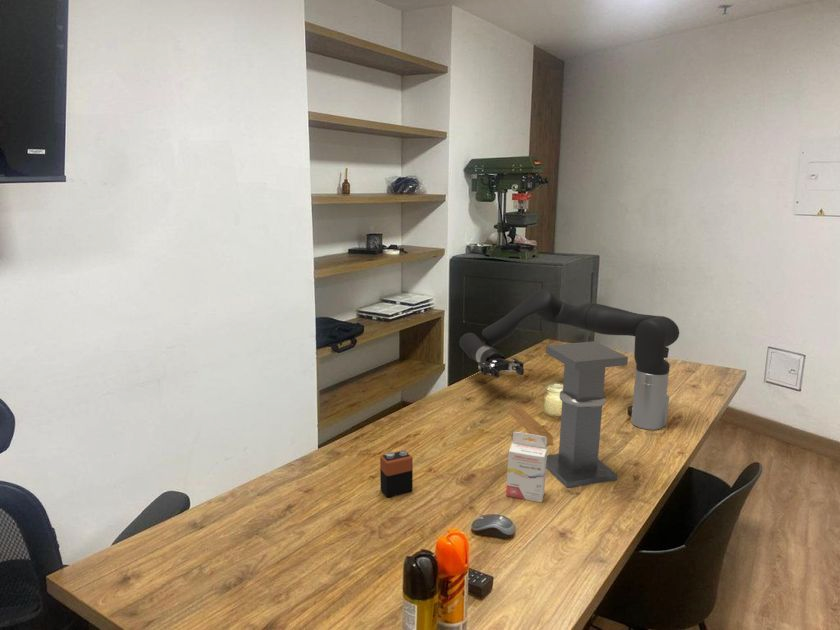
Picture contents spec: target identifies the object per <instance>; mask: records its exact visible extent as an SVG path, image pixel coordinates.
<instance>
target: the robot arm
mask: <svg viewBox="0 0 840 630" xmlns="http://www.w3.org/2000/svg"><path fill="white" fill-rule="evenodd" d="M533 314H535V315H537V316H538V318H539V319H541V320H542V321H544V322H547V323H552V324H553V323H554V324H561V325H568V326H572V327H575V328H579V329H582V330H585V331H588V332H592V333H596V334H600V335H606V336H628V337H629V336H630V337H634V357H633V358H634V361H635V363H636V364H635V365H636V366H635V375H634V376H635V377H634V387H633V397H632V408H631V420H630V422H631V424H632V425H634V426H635V427H638V428H640V429H644V430H652V431H656V430H660V429H662V428H663V427H666V426H667V422H668V412H669V403H670V402H669V401H670V396H669V395H668V394H667V393H668V385H669V377H670V375H669V374H670V362H669V361H668V360H665V348H666V347H669V346H671V345H673V344H674V343H675V342H676V341H677V340H678V338H679V336H680V329H679V327H678V325H677V323H676V322H675V321H674V320H672V318H669V317H667V316H664V315H652V314H642V313H636V312H632V311H629V310H625V309H622V308H617V307H612V306H608V305H605V304H602V303H596V302H587V303H584V304H581V305H576V304H575V305H574V304H570V303H567V302H564V301H562V300H561V299H559V297H557V296H556V294H555V293H553V292H552V291H551V290H550V289H548V288H541V289H538V290H537V291H535V292H533V293H532V294H531V295H530V296H528V297H527V298H526V299H525V300H523V301H522V302H521V303H519V304H518V305H517V306H516V307H515V308H514V309H512V310H511V311H510V312H508V313H507V314H506V315H505V316H504V317H501V318H500V319H498V320H496V321H494V323H491V324H490V325H488V326H487V327H485V328H483V330H482V331H481V335H482V338H483V340H484V341H483V340H482V339H480V337H479V336H478V335H477V334H475V333H474V332H467V333H464V334H463V335H462V336H460V338H459V346H460V348H461V349H462V351H463V352H464V353H465V354H466V355H467V356H468V358H469V359H471V360H474V361H476V362H477V363H478V365H477V366H478V368H477V369H478V371H479V372H480V373H481V374H482V375H484V376H486V375H487V374H488V375H490V376H493V378H496V379H498V378H499V376H500V372H508V373H513V372H515V373H517V374H518V375H519V376H523V375H524V373H525V371H524V366H525V365H524V364H525V363H524V362H523V361H520V360H519V359H517V358H512V360H507V359H506V357H505V356H504V355H503V353H501V352H500V351H499V350H497V349H496V348H494V346H495V345H497V344H499V343H500V342H502V341H504V340H506V339H508V338H509V337H511V336H512V334H514V332H515V331H516V329H517V328H518V326H519V325H520V324H521V322H522V321H524V320H525V319H526V318H527V317H529V316H532V315H533Z"/></svg>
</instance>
